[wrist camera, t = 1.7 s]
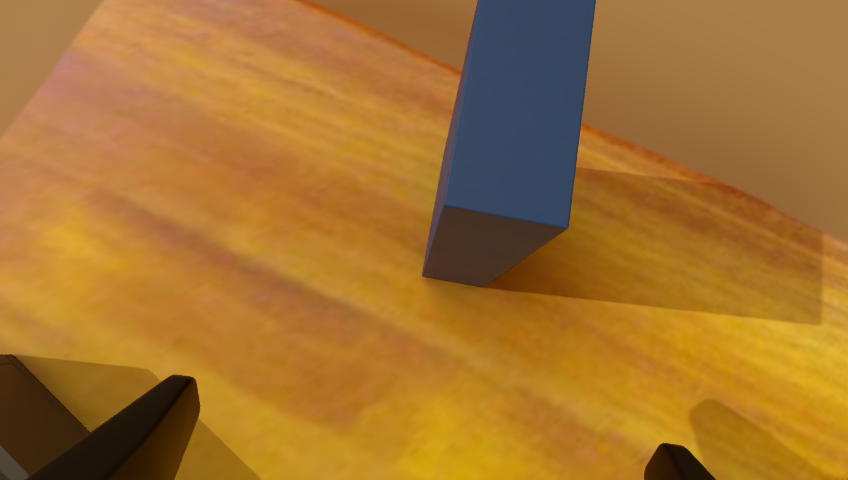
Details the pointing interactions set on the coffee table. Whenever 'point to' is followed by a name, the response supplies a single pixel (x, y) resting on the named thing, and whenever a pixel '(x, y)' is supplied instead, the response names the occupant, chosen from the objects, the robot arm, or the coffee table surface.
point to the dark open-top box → (30, 423)
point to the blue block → (511, 138)
